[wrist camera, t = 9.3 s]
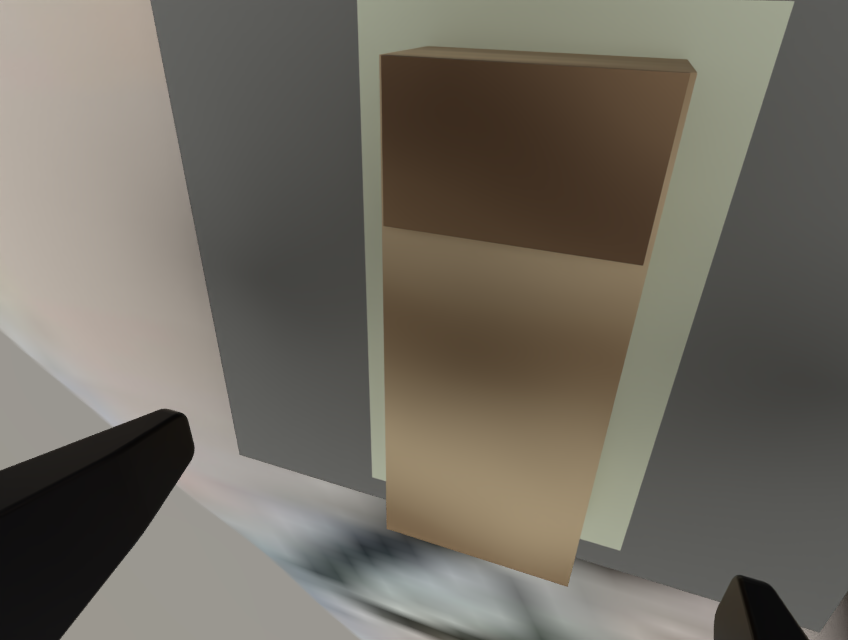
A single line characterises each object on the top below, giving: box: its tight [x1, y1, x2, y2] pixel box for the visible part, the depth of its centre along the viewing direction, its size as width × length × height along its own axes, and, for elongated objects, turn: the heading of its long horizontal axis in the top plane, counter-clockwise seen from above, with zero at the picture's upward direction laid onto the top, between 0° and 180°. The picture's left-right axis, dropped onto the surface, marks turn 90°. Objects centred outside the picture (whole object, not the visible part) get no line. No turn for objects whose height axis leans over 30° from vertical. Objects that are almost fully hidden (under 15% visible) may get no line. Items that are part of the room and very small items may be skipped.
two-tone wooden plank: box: [379, 46, 697, 587], centre depth 13 cm, size 12×5×3 cm, turn 178°
